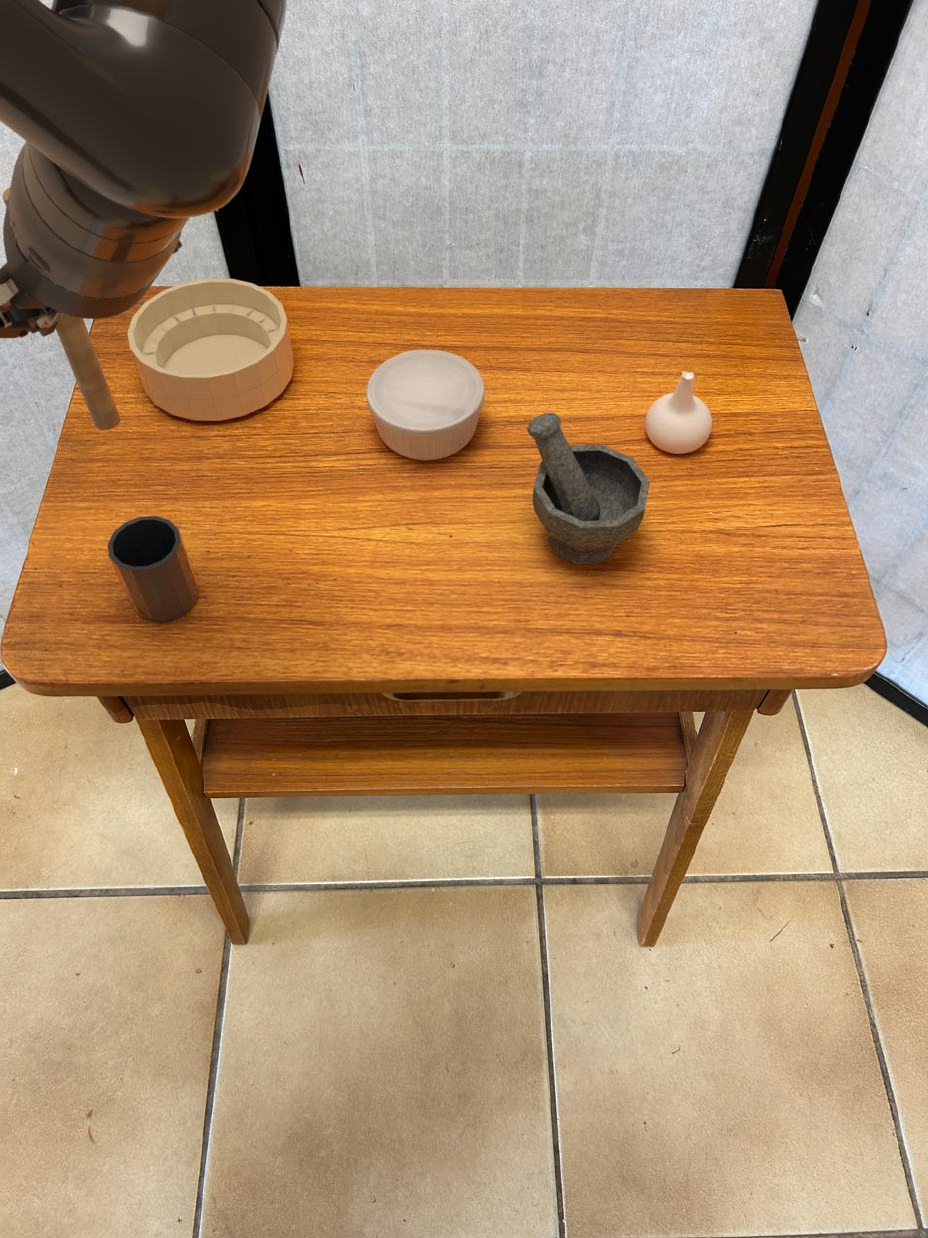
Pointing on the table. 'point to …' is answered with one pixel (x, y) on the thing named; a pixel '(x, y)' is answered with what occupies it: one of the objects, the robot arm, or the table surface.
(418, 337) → the table surface
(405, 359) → the ramekin
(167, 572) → the utensil pot
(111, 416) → the stick
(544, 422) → the mortar and pestle
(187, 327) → the bowl
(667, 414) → the garlic bulb
